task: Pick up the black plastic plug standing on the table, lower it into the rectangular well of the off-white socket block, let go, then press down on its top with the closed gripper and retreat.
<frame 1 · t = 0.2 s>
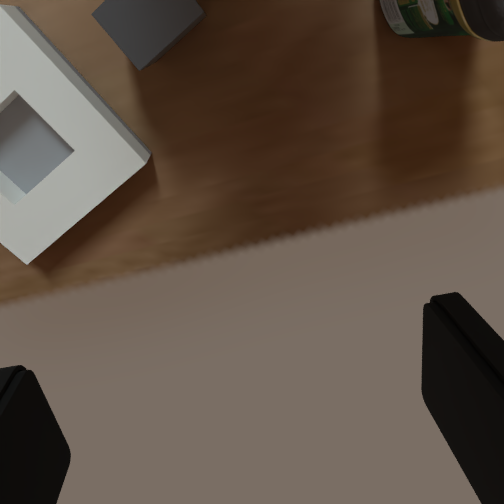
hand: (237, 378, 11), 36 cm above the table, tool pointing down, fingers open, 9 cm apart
plug: (163, 16, 39), on the table
socket: (31, 140, 43), on the table
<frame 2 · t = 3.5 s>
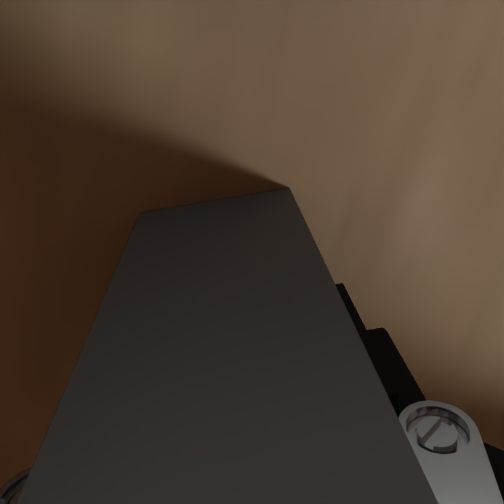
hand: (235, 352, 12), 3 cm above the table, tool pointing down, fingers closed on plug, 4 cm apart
plug: (231, 286, 15), on the table, touching gripper
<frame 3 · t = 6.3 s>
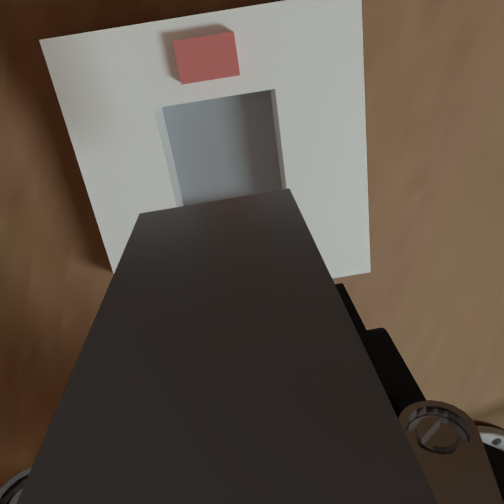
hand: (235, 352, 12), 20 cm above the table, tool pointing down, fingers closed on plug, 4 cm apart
plug: (231, 287, 15), point 16 cm above the table, touching gripper
socket: (226, 155, 29), on the table
when the fingers open (7 cm above the table, at t = 9.1 s): plug drops 2 cm, resting on socket.
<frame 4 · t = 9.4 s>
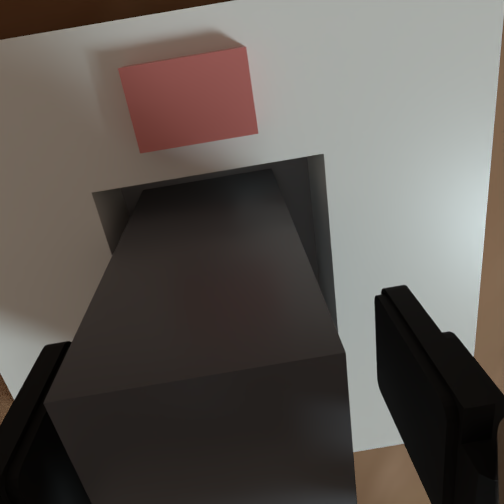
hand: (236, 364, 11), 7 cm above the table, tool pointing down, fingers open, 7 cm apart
plug: (222, 255, 17), point 1 cm above the table, touching socket
socket: (228, 242, 18), on the table
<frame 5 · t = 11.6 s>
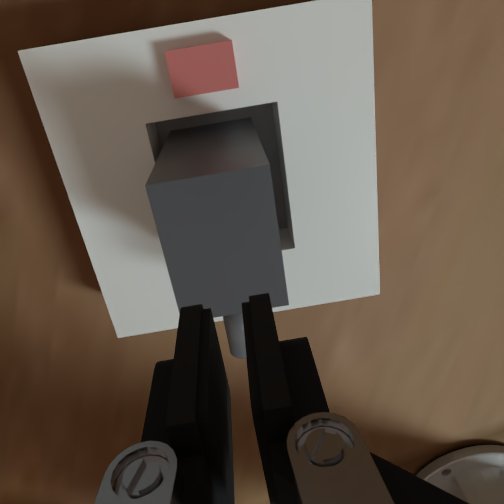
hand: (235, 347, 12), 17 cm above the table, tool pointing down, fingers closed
plug: (220, 175, 26), point 1 cm above the table, touching socket
socket: (224, 169, 27), on the table
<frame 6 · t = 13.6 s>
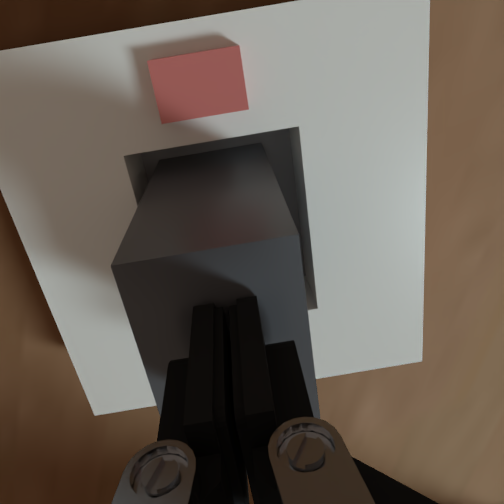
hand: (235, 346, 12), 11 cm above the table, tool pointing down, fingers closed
plug: (222, 214, 21), point 1 cm above the table, touching gripper, socket
socket: (227, 205, 22), on the table
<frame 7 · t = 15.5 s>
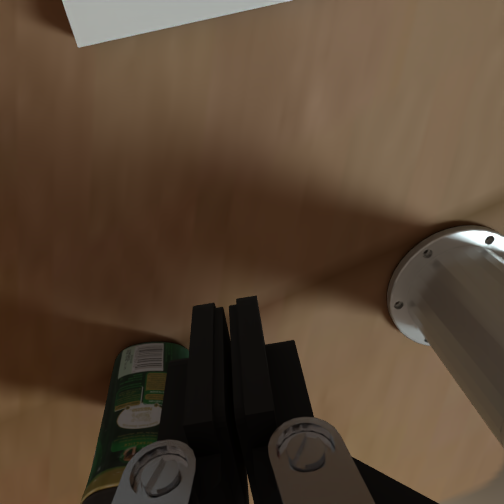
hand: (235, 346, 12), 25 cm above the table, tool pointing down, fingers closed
coffee jar: (158, 374, 44), on the table
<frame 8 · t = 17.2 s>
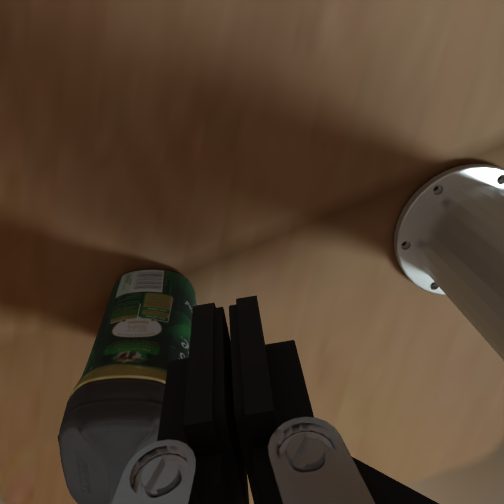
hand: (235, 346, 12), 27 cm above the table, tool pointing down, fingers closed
coffee jar: (157, 307, 43), on the table
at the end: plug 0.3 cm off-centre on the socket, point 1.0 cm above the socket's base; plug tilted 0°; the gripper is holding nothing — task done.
